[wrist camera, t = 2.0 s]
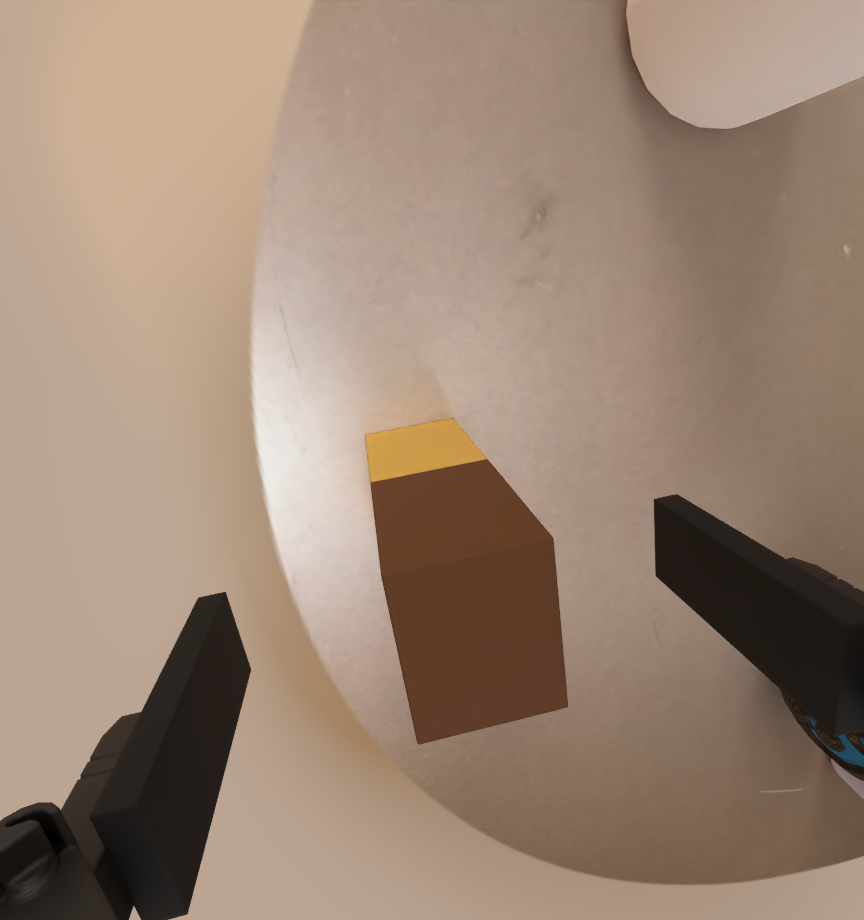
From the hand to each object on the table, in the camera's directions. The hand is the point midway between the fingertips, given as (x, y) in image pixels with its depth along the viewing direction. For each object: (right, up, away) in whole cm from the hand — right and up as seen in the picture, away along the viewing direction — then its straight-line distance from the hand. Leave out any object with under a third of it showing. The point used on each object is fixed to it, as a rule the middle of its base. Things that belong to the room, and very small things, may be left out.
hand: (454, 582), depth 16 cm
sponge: (-1, +3, +8) cm, 9 cm away
